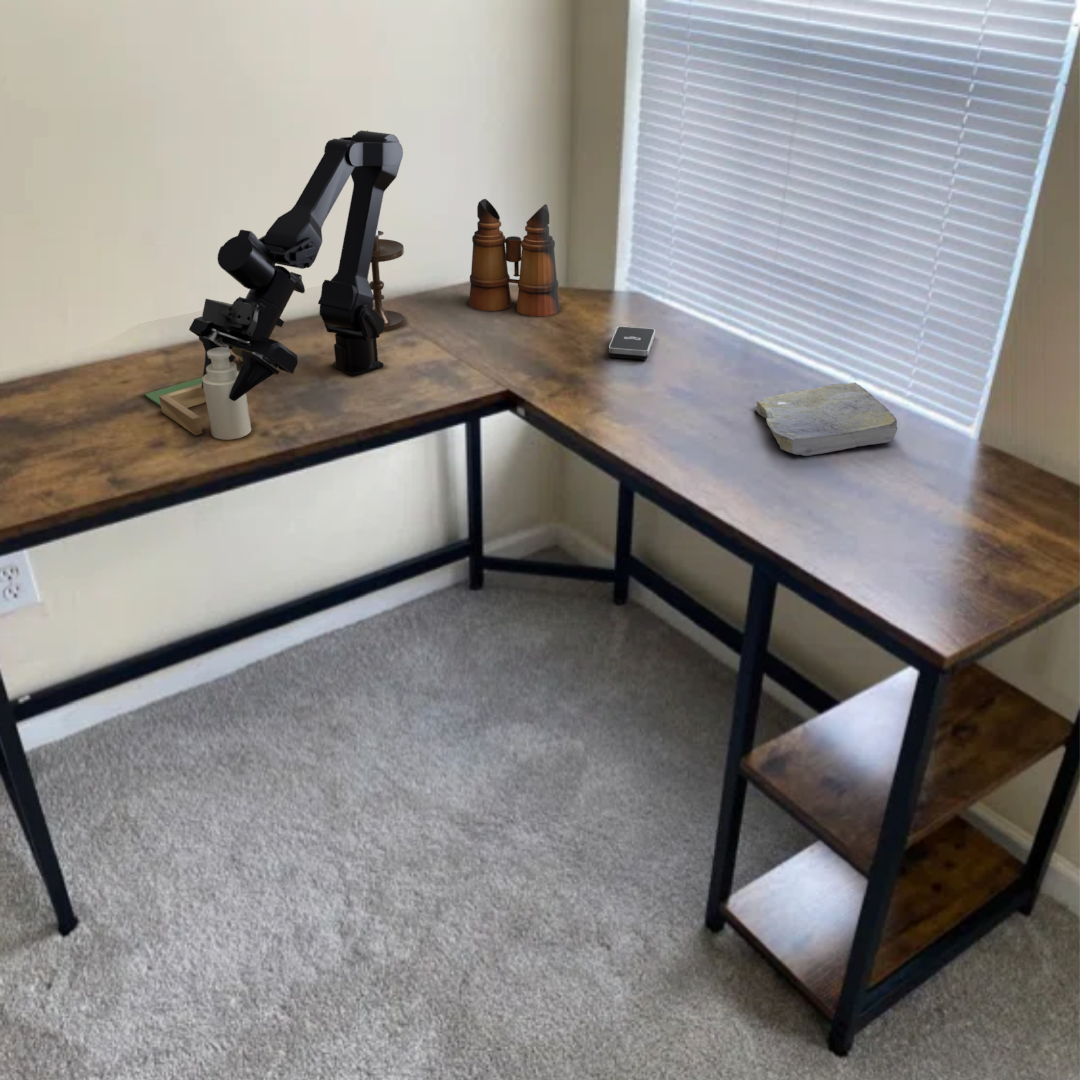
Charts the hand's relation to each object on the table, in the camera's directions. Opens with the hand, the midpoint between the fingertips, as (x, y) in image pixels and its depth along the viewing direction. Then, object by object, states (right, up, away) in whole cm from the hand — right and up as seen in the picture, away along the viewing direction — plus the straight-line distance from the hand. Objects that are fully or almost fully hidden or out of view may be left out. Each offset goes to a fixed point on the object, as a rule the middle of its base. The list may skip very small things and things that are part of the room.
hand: (217, 394), depth 168 cm
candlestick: (+18, +19, +44) cm, 52 cm away
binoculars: (+43, +24, +52) cm, 72 cm away
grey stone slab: (+91, -5, +6) cm, 92 cm away
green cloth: (-10, +3, +17) cm, 20 cm away
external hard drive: (+65, +12, +33) cm, 74 cm away
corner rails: (-3, -1, +11) cm, 11 cm away
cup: (-2, +9, +28) cm, 29 cm away
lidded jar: (+1, -5, +4) cm, 7 cm away
